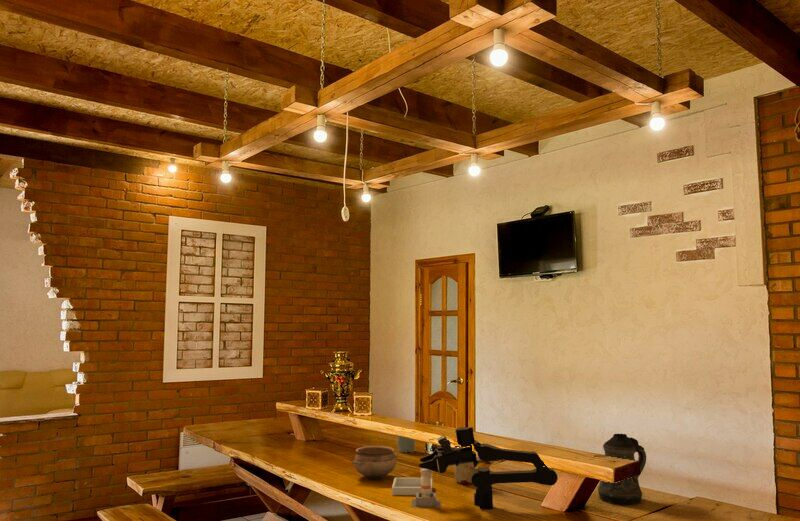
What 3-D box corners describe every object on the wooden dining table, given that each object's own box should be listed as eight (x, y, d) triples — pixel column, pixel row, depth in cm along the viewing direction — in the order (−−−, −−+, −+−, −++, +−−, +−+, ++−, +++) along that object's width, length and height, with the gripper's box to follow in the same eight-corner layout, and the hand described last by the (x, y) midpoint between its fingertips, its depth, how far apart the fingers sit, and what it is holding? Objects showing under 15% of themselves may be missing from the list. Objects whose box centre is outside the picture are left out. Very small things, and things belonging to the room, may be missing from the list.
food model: (451, 483, 270) (450, 436, 272) (458, 480, 276) (458, 434, 278) (471, 486, 265) (470, 438, 267) (478, 483, 270) (477, 436, 272)
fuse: (431, 501, 240) (431, 468, 241) (431, 504, 235) (431, 470, 237) (420, 501, 240) (420, 468, 241) (420, 504, 236) (420, 470, 237)
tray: (432, 487, 264) (432, 477, 265) (431, 497, 248) (431, 488, 249) (394, 486, 265) (394, 477, 266) (391, 497, 249) (391, 487, 250)
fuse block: (440, 502, 242) (440, 490, 242) (440, 510, 232) (440, 497, 233) (412, 501, 243) (412, 489, 243) (411, 509, 233) (411, 496, 233)
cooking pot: (365, 486, 266) (365, 457, 267) (340, 478, 280) (340, 450, 281) (409, 477, 281) (409, 449, 283) (383, 469, 296) (383, 443, 297)
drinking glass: (394, 450, 339) (394, 428, 340) (410, 448, 343) (410, 426, 344) (402, 454, 330) (402, 431, 331) (419, 452, 334) (419, 429, 335)
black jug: (590, 499, 245) (588, 434, 248) (613, 490, 259) (611, 428, 261) (630, 508, 234) (628, 440, 236) (653, 498, 247) (650, 433, 250)
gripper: (455, 430, 249) (417, 437, 249) (456, 439, 230) (415, 446, 231) (460, 459, 247) (421, 465, 248) (462, 470, 229) (420, 476, 230)
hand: (419, 462), depth 239 cm, fingers open, 9 cm apart
